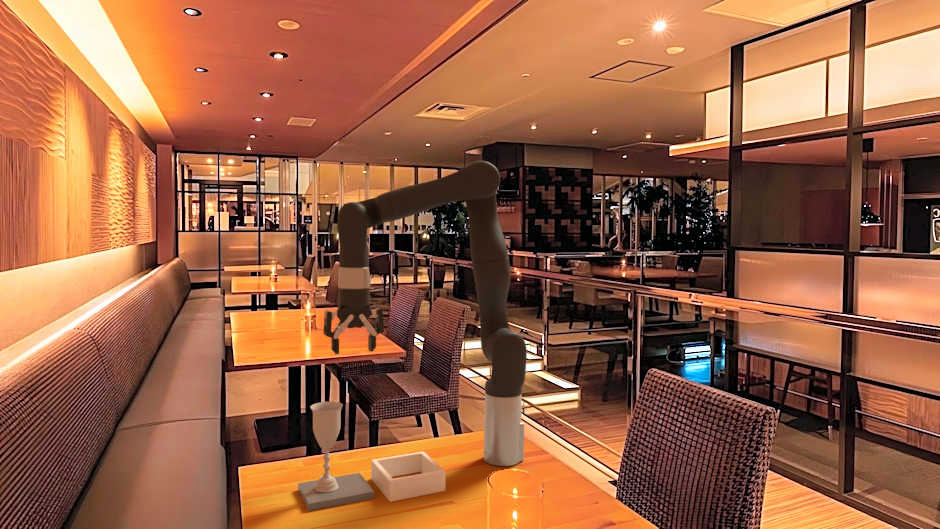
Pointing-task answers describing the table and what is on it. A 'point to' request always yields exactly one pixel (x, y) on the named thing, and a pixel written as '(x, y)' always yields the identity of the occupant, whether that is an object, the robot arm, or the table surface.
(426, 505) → the table surface
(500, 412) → the robot arm
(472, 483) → the table surface
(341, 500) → the slate board
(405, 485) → the open box
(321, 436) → the chalice
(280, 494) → the table surface
